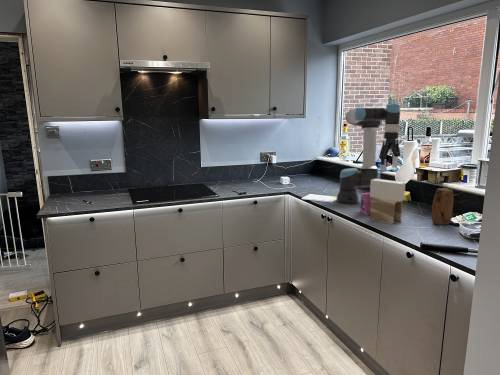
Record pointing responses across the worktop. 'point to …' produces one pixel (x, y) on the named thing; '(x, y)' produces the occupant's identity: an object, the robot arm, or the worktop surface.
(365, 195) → the gum box
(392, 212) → the tan wooden box
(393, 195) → the block
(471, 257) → the worktop surface
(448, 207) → the block
